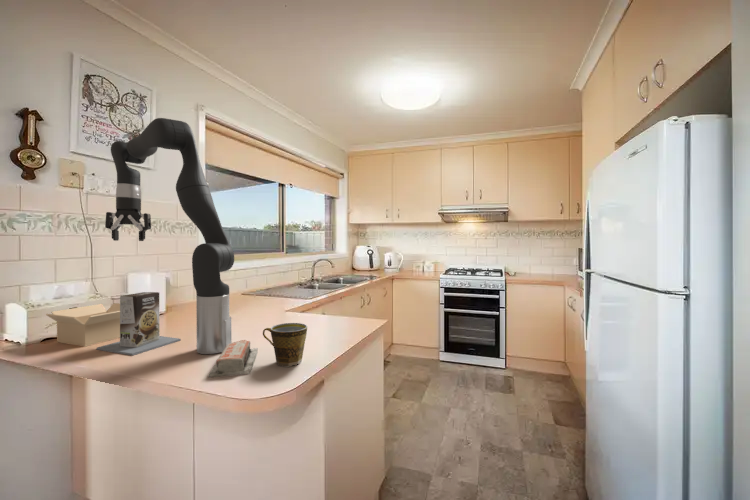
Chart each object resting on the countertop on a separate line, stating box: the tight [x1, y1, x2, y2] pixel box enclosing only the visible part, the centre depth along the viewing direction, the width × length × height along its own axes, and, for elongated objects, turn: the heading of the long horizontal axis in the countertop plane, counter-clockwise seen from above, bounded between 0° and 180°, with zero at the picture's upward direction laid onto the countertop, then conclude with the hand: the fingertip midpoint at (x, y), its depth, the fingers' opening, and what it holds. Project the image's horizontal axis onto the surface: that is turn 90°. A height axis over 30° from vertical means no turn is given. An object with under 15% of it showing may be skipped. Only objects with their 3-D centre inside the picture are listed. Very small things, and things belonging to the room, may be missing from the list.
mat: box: [96, 335, 181, 356], centre depth 107 cm, size 16×16×1 cm
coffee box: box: [119, 291, 161, 348], centre depth 107 cm, size 9×6×16 cm
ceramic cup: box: [262, 322, 308, 367], centre depth 93 cm, size 13×10×10 cm
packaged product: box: [208, 339, 258, 378], centre depth 92 cm, size 18×5×10 cm
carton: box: [45, 302, 120, 347], centre depth 115 cm, size 20×21×10 cm
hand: (128, 240), depth 123 cm, fingers open, 8 cm apart
